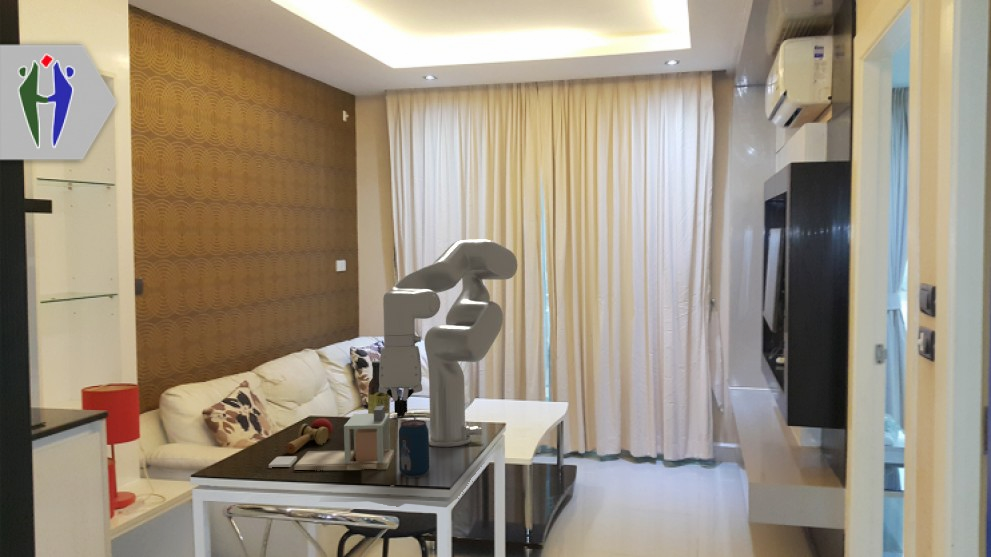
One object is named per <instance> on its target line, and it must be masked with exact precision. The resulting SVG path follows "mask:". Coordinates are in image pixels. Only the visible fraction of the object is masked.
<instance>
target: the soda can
mask: <svg viewBox="0 0 991 557" xmlns="http://www.w3.org/2000/svg"><path fill="white" fill-rule="evenodd" d="M429 435H430V428H428V425H427V421H425V420H421V419H420V420H419V419H410V420H405V421H402V422H401V423H400V427H399V429H398V459H399V462H398V463H399V470H400V473H401V474H402V476H403V477H405V476H406V478H420V477H421V478H422V477H425V476H426V475H427V474H428V472H429V470H430V445H429Z"/></svg>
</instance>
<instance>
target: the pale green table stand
mask: <svg viewBox="0 0 991 557" xmlns="http://www.w3.org/2000/svg"><path fill="white" fill-rule="evenodd" d="M358 429H377V455H378V463H383V450H391V435H390V434H391V432H390V430H391V429H390V423H389V413H385V406H376V408H375V409H374V414H368V413H353V415H352V416H351V417H350V418H349V419H348V421H347V422H346V423H345V424H344V425H343V434H344V435H343V443H344V451H345V463H350V462H351V451H352V450H351V448H352V447H351V430H353V451H356V432H357V430H358Z"/></svg>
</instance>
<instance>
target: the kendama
mask: <svg viewBox="0 0 991 557" xmlns="http://www.w3.org/2000/svg"><path fill="white" fill-rule="evenodd" d="M332 433H333V424H332V423H331V421H329V420H328V419H327V418H324V417H322V418H317V419H315V420H314V421H313V422H312V423H311V425H310V424H308V423H303V424H302V425H301V426H299V430H298V433H297V434H298V438H296V439H294V440H292V441H290V442H288V443H286V444H285V450H286V452H287V453H288V454H295V453H296V452H297V451H298V450H299V449H301V448H302V447H303V446H305V444H306V443H308V442H309V440H314V441H315V444H317V445H320V446H321V445H324V444H326V443H327V440H328V439H329V438H330V437H331V435H332ZM323 443H324V444H323Z"/></svg>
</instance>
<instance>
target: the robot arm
mask: <svg viewBox="0 0 991 557" xmlns="http://www.w3.org/2000/svg"><path fill="white" fill-rule="evenodd" d="M517 271H518V260H517V257H516V255H515V253H514V252H513V251H512V250H510V249H509V248H506V247H505V246H503V245H501V244H499V243H497V242H495V241H493V240H489V239H463V240H462V239H460V240H457V241H455V242H453V243H451V244H450V246H449V247H448V248H446V250H445V251H444V252H443V253H442V254H441V255H440V256H439V257H438V258H437V259H435V261H434V262H433V263H431V264H428V265H427V266H424V267H422V268H420V269H418V270H416V271H413V272H411V273H409V274H407V275H405V276H404V277H402V278H401V279H400V280H398V281H397V282H396V283H395V284H394V285H393V286H392V287H391V288H390V289H389V291H387V292H386V293H384V295H383V299H382V300H383V301H382V303H383V304H382V306H383V340H384V341H383V346H381V349H380V354H379V355H380V356H379V357H380V358H379V361H380V366H379V384H380V385H379V390H378V391H379V392H381V393H385V394H388V395H389V396H390V399H392V400H393V401H394V404H393V406H394V407H393V408H394V414H396V417H397V418H400V417H401V418H404V417H405V415H406V414H407V413H408V400H409V398H410V397H411V396H412V395H413V394H417V393H420V392H422V391H423V384H422V377H423V376H422V361H421V353H420V347H419V346H418V345H416V344H417V343H421V341H422V336H418V335H416V328H415V327H416V326H415V324H416V323H415V319H418V320H422V319H424V320H425V319H426V320H427V319H430V318H433V317H434V316H436V315H437V314H438V313H439V311H440V308H441V300H440V296H439V295H438V294H439V293H443V292H445V291H448V290H451V289H453V288H454V287H456V286H457V284H458V283H459V282H460V281H461V280H462V290H461V292H460V293H459V295H458V296H457V298H456V300H455V301H454V302H453V304H452V305H451V307H450V308H449V310H448V312H447V314H446V317H445V324H439V325H434V326H432V327H430V328H429V329H428V330H427V332H426V333H425V335H424V350H425V355H426V360H427V365H428V382H429V383H428V386H429V387H428V388H429V390H428V391H429V393H428V394H429V396H428V397H429V446H433V447H438V448H439V447H441V448H442V447H443V448H444V447H446V448H447V447H449V448H450V447H459V446H463V445H466V444H469V443H470V442H471V441H472V436H473V435H474V436H482V434H483V428H482V427H478V426H468V424H467V423H468V422H467V421H466V407H465V406H466V404H465V403H466V402H465V401H466V400H465V394H466V393H465V392H466V391H465V375H464V371H463V369H462V366H461V365H460V364H459V362H464V363H465V362H466V363H476V362H480V361H482V360H483V359H484V358H485V357H486V355H487V353H488V352H489V350H490V349H491V347H492V345H493V344H494V342H495V340H496V339H497V337H498V335H499V333H500V331H501V329H502V326H503V320H504V315H503V311H502V308H501V306H500V305H499V304H498V303H497V302H495V301H491V297H490V293H489V290H488V289H487V287H486V286H485V284H484V282H483V281H486V280H487V281H488V280H490V281H491V280H494V281H495V280H503V281H505V280H510V279H512V278H513V277H514V276H515V274H516V273H517ZM389 388H390V389H389ZM399 389H402V390H403V392H402V396H401V397H400V394H399Z"/></svg>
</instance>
